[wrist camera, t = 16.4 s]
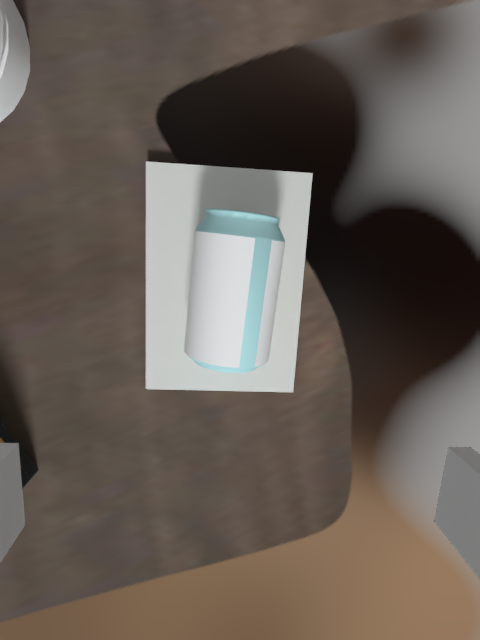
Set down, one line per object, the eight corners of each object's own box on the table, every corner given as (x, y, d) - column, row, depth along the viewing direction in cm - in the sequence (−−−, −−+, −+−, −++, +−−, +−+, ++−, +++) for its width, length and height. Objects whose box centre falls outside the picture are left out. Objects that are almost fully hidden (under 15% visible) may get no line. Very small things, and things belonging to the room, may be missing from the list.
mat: (290, 388, 37) (293, 392, 36) (147, 384, 36) (145, 388, 35) (309, 174, 33) (312, 173, 32) (148, 163, 32) (145, 161, 31)
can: (172, 349, 33) (185, 207, 30) (244, 347, 36) (260, 219, 33) (201, 379, 26) (219, 204, 24) (283, 374, 30) (307, 219, 27)
